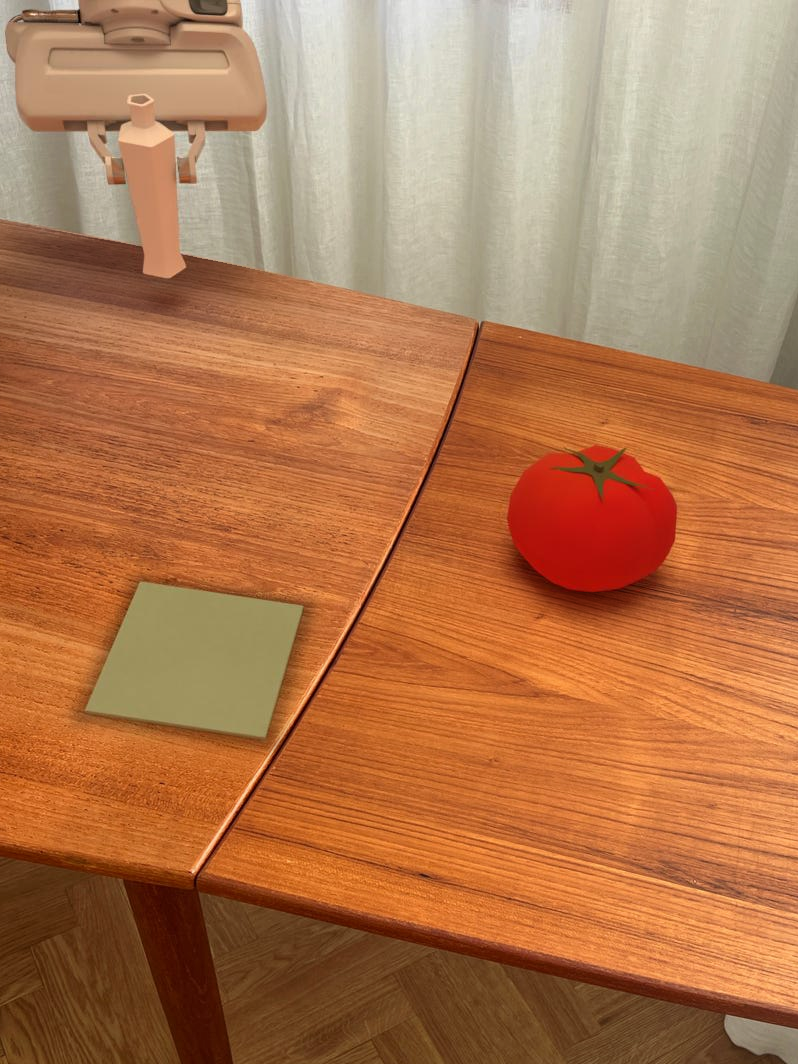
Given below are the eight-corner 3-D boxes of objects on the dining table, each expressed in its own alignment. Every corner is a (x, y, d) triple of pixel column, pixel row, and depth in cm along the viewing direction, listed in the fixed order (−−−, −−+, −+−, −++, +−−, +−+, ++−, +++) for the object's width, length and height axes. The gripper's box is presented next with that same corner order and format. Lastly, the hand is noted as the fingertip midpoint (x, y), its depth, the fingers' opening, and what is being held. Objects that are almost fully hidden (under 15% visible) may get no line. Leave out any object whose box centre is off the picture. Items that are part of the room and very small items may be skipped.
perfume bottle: (126, 262, 104) (98, 95, 92) (169, 248, 106) (146, 82, 95) (153, 286, 102) (128, 118, 90) (196, 271, 104) (176, 104, 93)
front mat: (85, 715, 76) (84, 710, 75) (140, 586, 84) (139, 580, 83) (265, 742, 76) (265, 737, 75) (303, 610, 84) (303, 605, 83)
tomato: (662, 629, 86) (694, 530, 79) (494, 605, 86) (510, 504, 78) (660, 527, 94) (690, 428, 86) (506, 506, 93) (522, 404, 86)
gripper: (-5, -10, 90) (17, 171, 92) (258, -4, 95) (275, 168, 96) (8, 26, 97) (28, 195, 98) (254, 30, 101) (270, 192, 103)
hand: (153, 182), depth 97 cm, fingers closed on perfume bottle, 4 cm apart
